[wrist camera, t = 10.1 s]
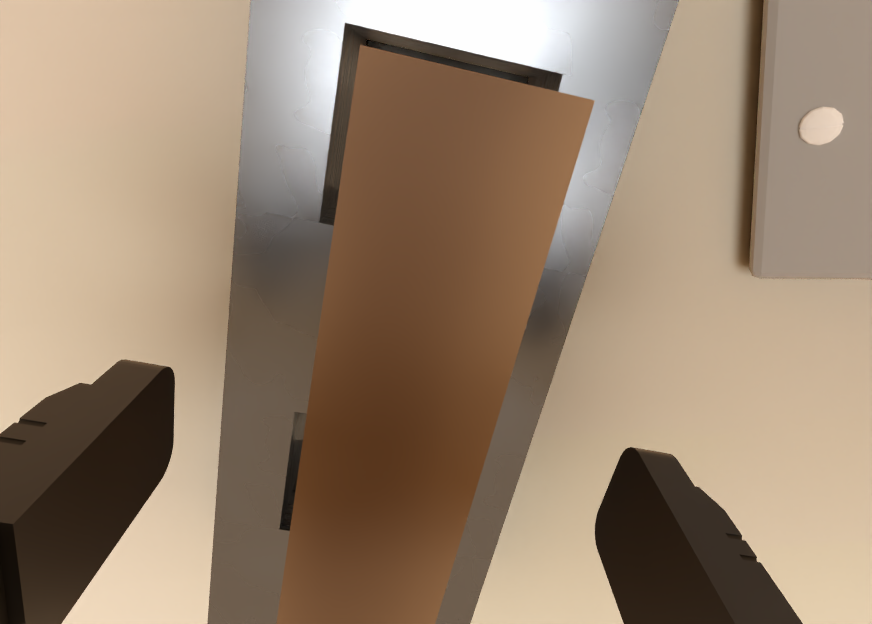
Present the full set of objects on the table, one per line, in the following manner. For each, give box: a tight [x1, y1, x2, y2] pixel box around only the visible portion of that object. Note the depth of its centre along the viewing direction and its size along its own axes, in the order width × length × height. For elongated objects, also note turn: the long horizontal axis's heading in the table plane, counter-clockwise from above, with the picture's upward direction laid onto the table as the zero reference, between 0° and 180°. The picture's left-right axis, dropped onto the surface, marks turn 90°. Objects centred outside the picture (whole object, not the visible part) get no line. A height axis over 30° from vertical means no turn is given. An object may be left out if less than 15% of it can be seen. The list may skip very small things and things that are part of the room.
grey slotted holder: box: [208, 0, 679, 624], centre depth 15 cm, size 8×22×4 cm, turn 168°
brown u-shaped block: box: [276, 45, 595, 624], centre depth 13 cm, size 3×12×8 cm, turn 168°
